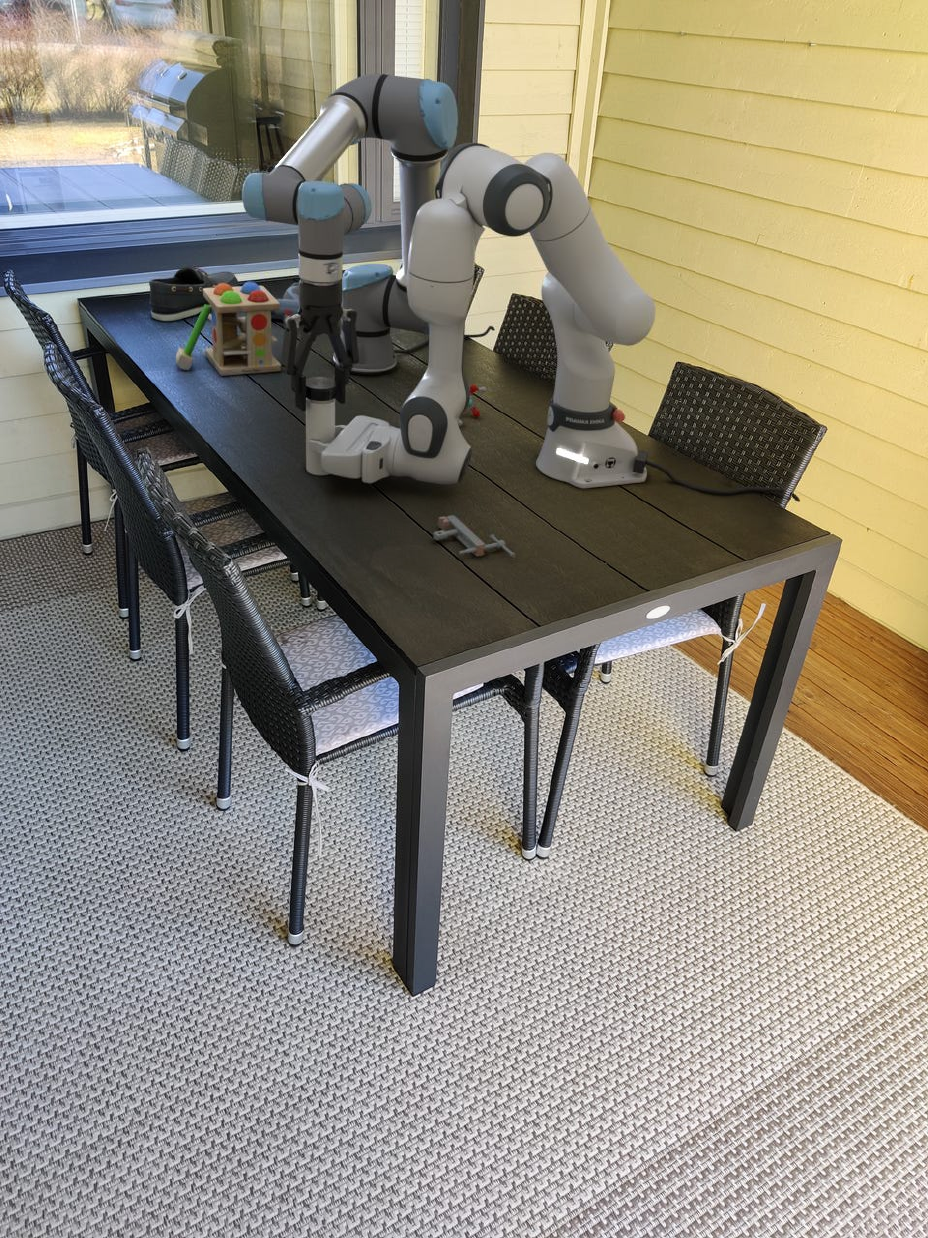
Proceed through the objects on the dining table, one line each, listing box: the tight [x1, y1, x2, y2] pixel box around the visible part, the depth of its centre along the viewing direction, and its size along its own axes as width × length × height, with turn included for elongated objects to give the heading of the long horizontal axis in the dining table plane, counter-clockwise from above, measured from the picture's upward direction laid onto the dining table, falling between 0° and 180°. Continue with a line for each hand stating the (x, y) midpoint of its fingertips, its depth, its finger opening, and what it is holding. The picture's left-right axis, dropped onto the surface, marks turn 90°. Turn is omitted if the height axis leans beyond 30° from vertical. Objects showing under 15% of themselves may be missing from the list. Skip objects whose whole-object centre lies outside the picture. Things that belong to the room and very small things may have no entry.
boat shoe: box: [148, 265, 240, 322], centre depth 262 cm, size 13×33×10 cm, turn 147°
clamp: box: [433, 515, 517, 559], centre depth 169 cm, size 15×2×10 cm
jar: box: [305, 398, 336, 476], centre depth 185 cm, size 5×5×16 cm
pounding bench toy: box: [174, 281, 282, 377], centre depth 225 cm, size 23×14×18 cm, turn 116°
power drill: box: [271, 282, 300, 320], centre depth 265 cm, size 5×19×20 cm
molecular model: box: [457, 384, 487, 427], centre depth 214 cm, size 12×10×10 cm
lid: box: [306, 376, 337, 401], centre depth 181 cm, size 6×6×2 cm
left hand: (320, 404), depth 182 cm, fingers open, 8 cm apart
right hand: (315, 436), depth 186 cm, fingers closed on jar, 5 cm apart
